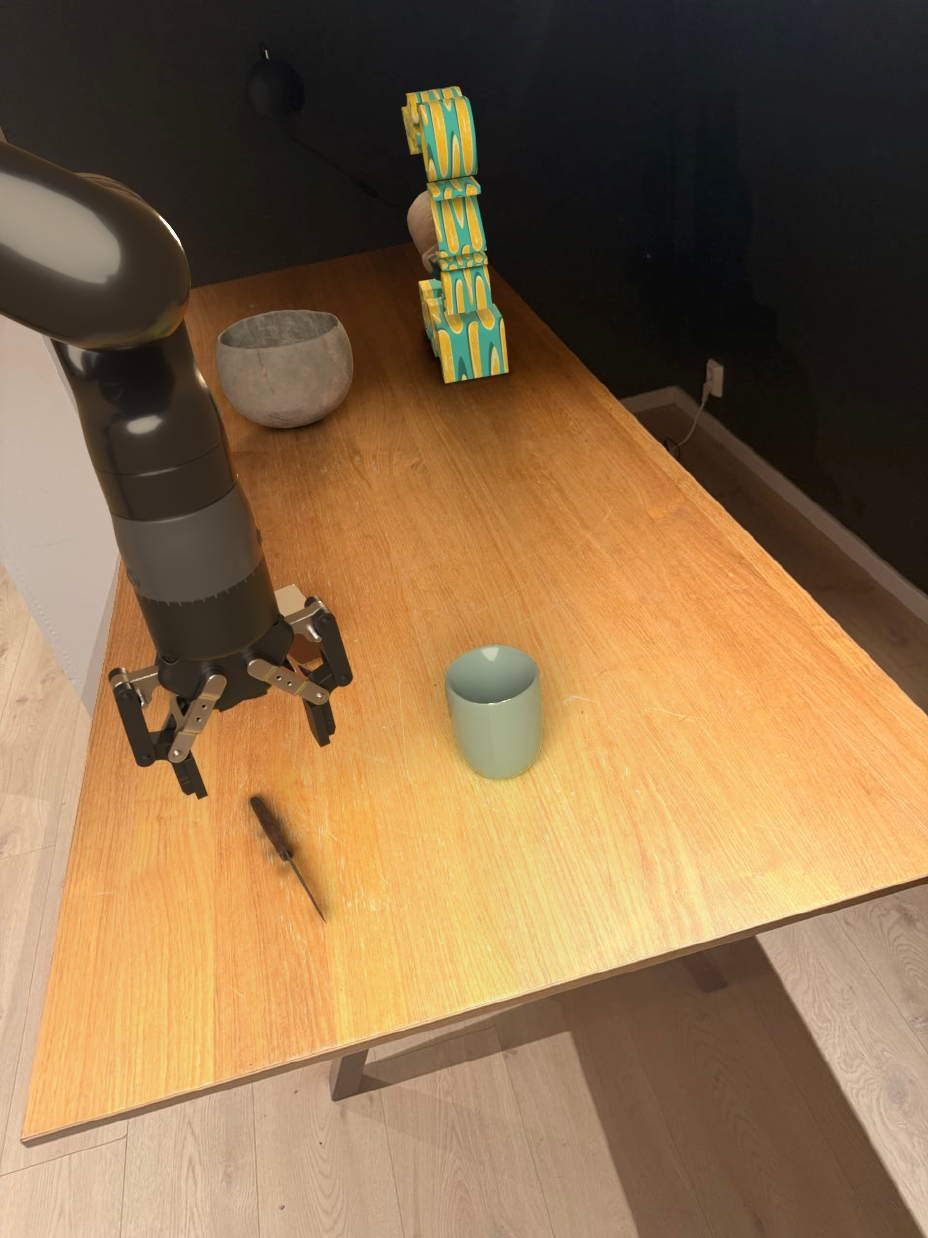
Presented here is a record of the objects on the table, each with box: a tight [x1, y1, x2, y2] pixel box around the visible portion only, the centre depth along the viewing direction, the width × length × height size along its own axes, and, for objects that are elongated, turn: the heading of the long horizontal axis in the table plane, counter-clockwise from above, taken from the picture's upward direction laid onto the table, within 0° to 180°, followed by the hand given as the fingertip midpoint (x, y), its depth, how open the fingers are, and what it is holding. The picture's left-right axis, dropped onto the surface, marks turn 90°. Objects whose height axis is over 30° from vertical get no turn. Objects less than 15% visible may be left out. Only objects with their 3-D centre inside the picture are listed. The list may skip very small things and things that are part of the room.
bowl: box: [214, 309, 354, 429], centre depth 145 cm, size 20×20×15 cm
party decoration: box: [401, 85, 509, 384], centre depth 155 cm, size 31×12×40 cm, turn 9°
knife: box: [249, 796, 328, 924], centre depth 77 cm, size 16×1×2 cm, turn 31°
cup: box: [443, 644, 545, 781], centre depth 81 cm, size 8×8×10 cm
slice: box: [274, 583, 321, 665], centre depth 100 cm, size 4×8×4 cm, turn 30°
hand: (261, 764), depth 63 cm, fingers open, 8 cm apart
